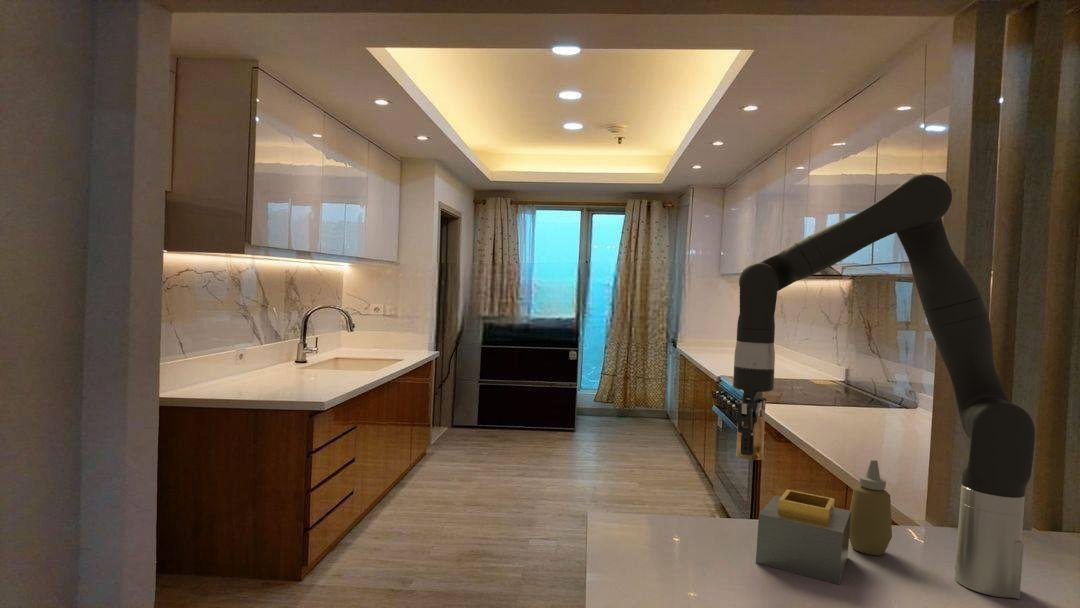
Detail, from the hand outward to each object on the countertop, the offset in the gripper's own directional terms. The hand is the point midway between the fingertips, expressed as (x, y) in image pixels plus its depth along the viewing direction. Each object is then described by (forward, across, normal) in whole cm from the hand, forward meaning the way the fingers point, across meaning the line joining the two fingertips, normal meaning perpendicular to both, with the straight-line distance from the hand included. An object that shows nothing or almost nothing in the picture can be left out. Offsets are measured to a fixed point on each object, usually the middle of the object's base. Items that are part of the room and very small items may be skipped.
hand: (750, 451), depth 126 cm
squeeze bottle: (+19, +15, -20) cm, 32 cm away
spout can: (+1, 0, 0) cm, 1 cm away
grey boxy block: (+19, 0, -10) cm, 22 cm away
